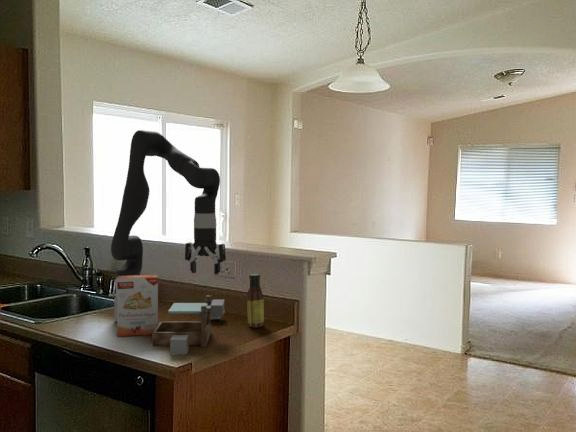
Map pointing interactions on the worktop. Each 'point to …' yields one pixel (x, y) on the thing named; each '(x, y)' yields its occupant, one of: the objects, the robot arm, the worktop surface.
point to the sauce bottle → (255, 302)
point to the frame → (185, 329)
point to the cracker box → (137, 305)
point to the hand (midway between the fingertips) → (205, 273)
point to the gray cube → (179, 344)
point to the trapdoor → (198, 308)
